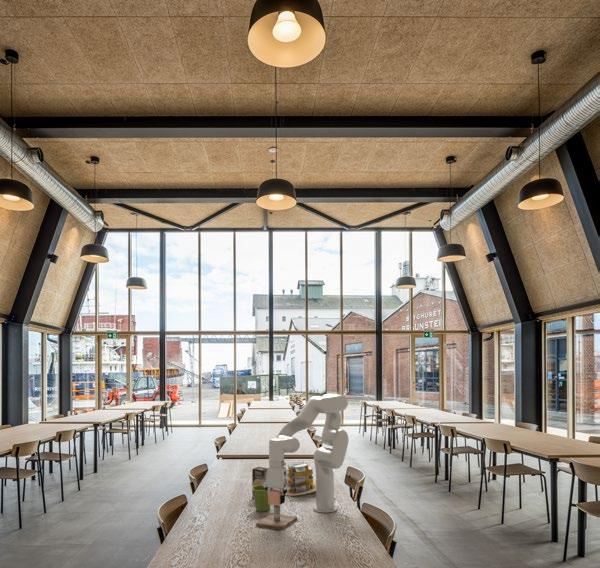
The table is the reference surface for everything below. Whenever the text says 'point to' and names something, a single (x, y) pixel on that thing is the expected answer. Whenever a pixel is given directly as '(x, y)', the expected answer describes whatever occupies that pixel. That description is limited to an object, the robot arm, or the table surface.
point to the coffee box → (258, 477)
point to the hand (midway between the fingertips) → (276, 501)
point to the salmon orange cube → (274, 497)
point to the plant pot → (261, 498)
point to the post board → (276, 520)
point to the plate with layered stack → (300, 478)
